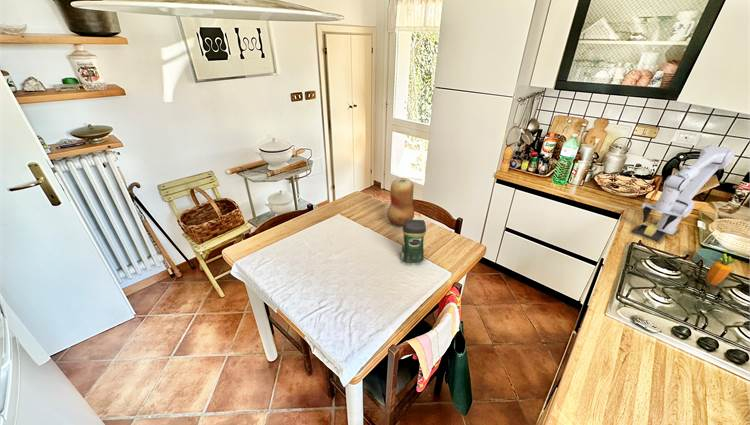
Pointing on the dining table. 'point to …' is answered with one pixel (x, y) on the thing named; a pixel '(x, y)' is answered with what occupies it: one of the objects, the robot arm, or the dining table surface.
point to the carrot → (719, 270)
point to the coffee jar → (413, 241)
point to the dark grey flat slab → (656, 236)
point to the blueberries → (643, 320)
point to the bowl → (707, 256)
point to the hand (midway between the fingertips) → (653, 225)
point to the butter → (651, 229)
